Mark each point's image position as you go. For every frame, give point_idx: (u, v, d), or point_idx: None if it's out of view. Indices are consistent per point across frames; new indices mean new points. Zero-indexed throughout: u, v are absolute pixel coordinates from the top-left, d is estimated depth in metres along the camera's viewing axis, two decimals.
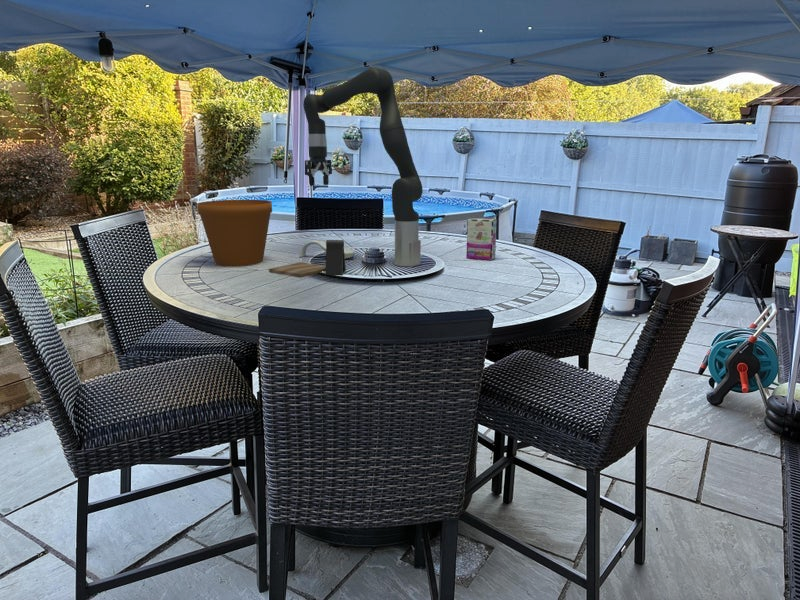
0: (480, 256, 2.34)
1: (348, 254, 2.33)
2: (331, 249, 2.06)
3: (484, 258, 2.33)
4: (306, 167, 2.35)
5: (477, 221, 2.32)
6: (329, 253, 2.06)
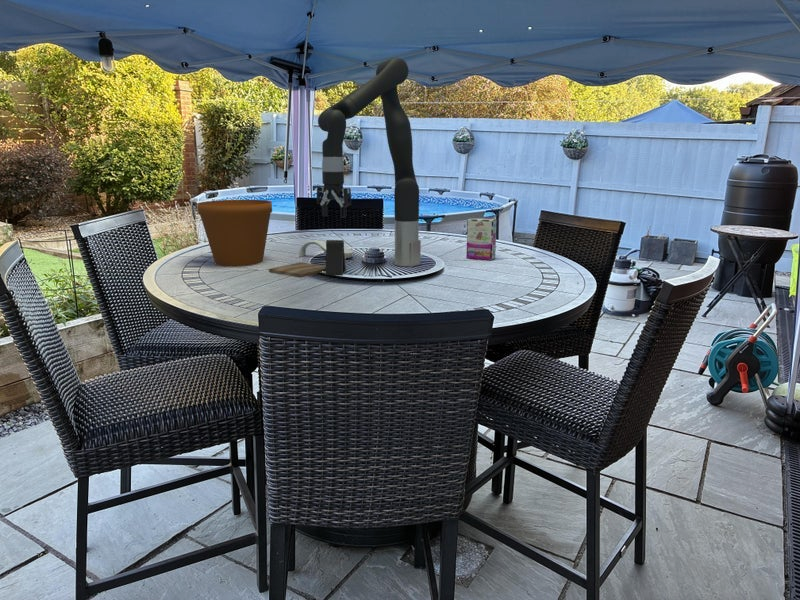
0: (480, 256, 2.34)
1: (346, 254, 2.32)
2: (331, 249, 2.06)
3: (484, 258, 2.33)
4: (348, 196, 1.99)
5: (477, 221, 2.32)
6: (329, 253, 2.06)
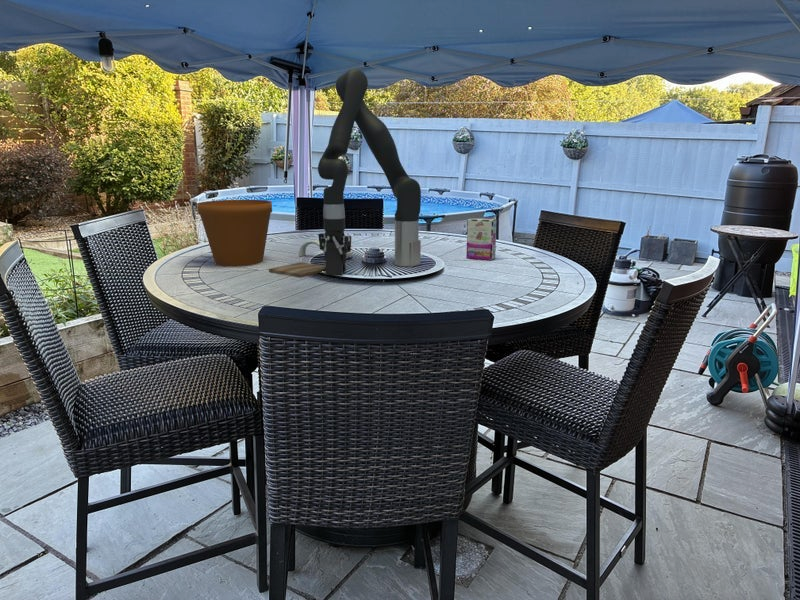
0: (480, 256, 2.34)
1: None
2: (331, 249, 2.06)
3: (484, 258, 2.33)
4: (348, 244, 2.03)
5: (477, 221, 2.32)
6: (329, 253, 2.06)
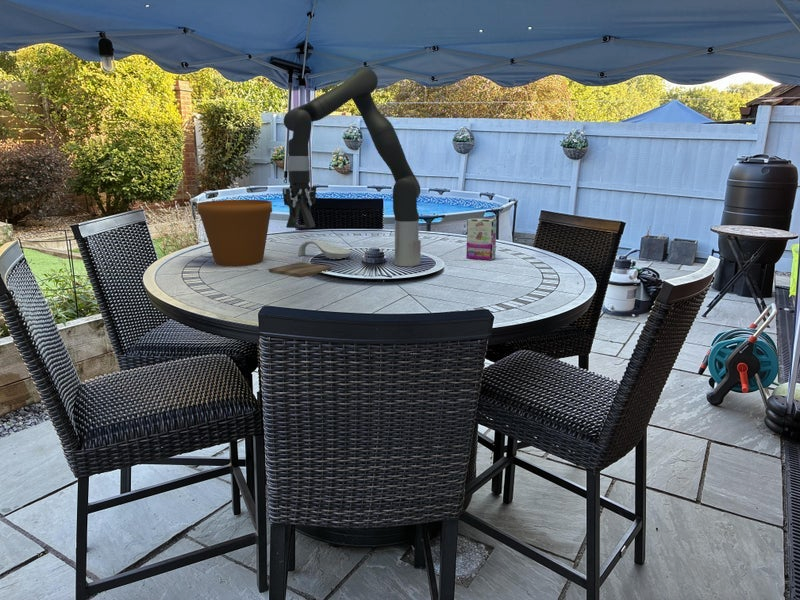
0: (480, 256, 2.34)
1: (342, 254, 2.32)
2: (303, 202, 2.05)
3: (484, 258, 2.33)
4: None
5: (477, 221, 2.32)
6: (304, 206, 2.04)
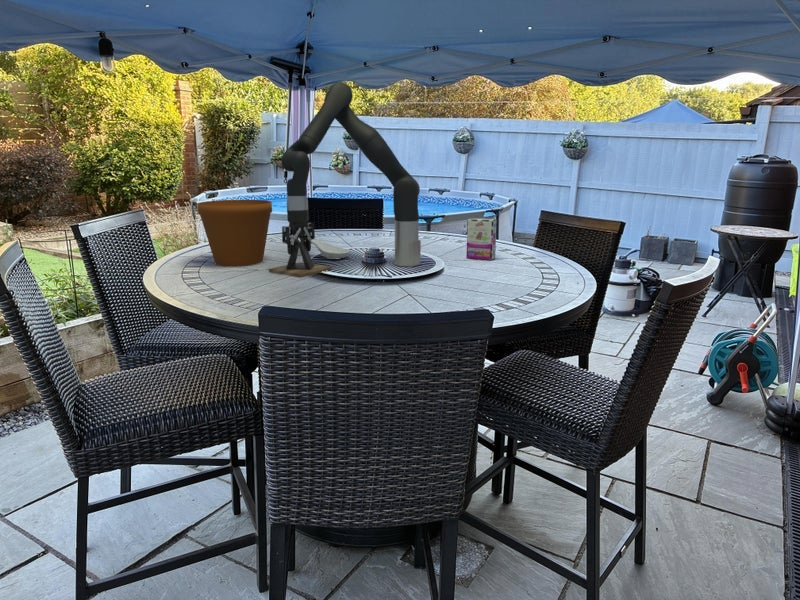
0: (480, 256, 2.34)
1: (340, 254, 2.32)
2: (302, 244, 2.09)
3: (484, 258, 2.33)
4: None
5: (477, 221, 2.32)
6: (303, 248, 2.09)
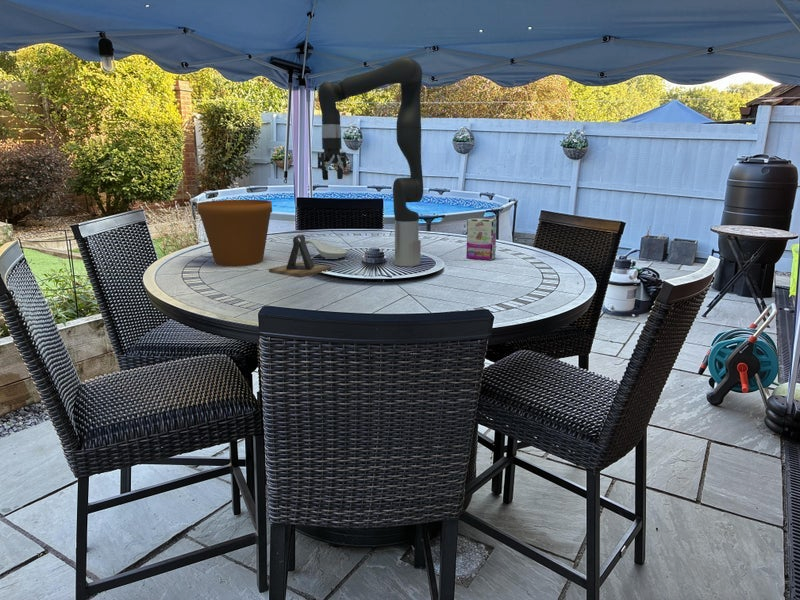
0: (480, 256, 2.34)
1: (337, 254, 2.32)
2: (302, 244, 2.09)
3: (484, 258, 2.33)
4: None
5: (477, 221, 2.32)
6: (303, 248, 2.09)
